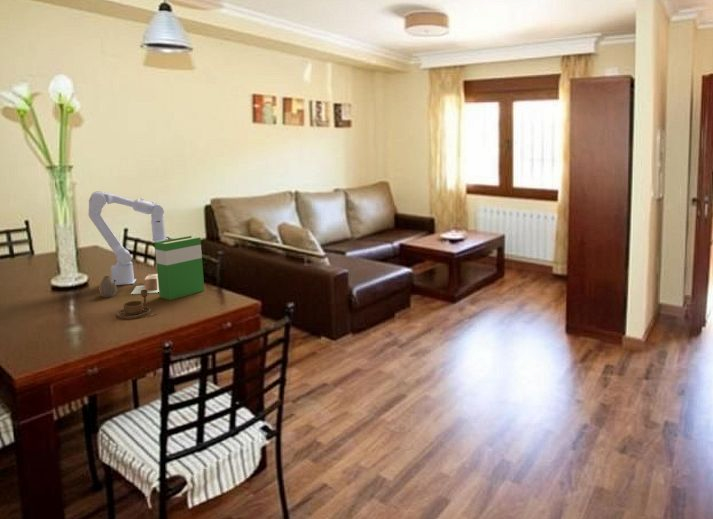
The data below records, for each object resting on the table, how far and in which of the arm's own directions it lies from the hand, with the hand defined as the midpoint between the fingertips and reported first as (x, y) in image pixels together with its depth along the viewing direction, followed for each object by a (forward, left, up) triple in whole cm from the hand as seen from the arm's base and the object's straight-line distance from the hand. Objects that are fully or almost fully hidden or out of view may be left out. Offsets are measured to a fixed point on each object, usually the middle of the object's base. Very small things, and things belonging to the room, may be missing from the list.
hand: (160, 257), depth 263 cm
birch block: (-2, -12, -8) cm, 14 cm away
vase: (-19, -26, -11) cm, 34 cm away
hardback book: (+12, -30, -11) cm, 34 cm away
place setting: (-1, -51, -11) cm, 53 cm away
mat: (-2, -20, -10) cm, 22 cm away
